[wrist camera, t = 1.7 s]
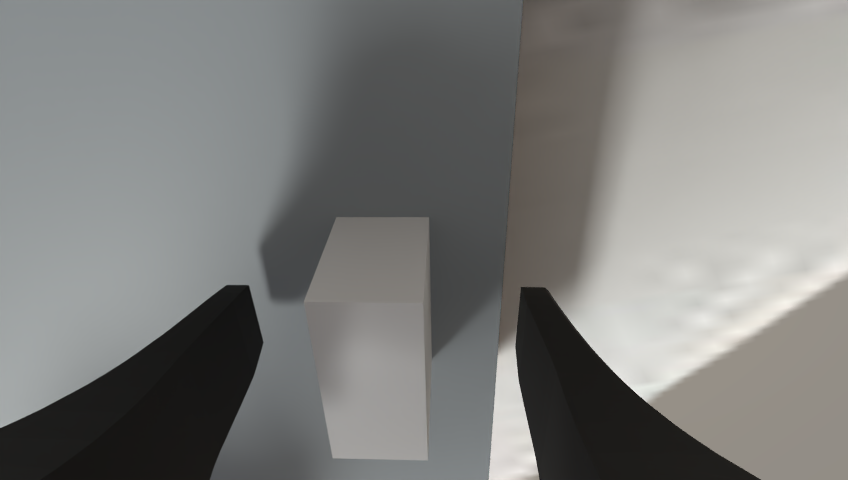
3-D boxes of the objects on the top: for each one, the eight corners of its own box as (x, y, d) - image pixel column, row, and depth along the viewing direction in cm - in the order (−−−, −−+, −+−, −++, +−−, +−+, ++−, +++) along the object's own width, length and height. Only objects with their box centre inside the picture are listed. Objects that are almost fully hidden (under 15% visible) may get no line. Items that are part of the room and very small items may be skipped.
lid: (486, 468, 20) (494, 594, 16) (32, 457, 21) (-60, 574, 17) (524, -97, 10) (567, -109, 6) (-327, -72, 11) (-721, -72, 7)
